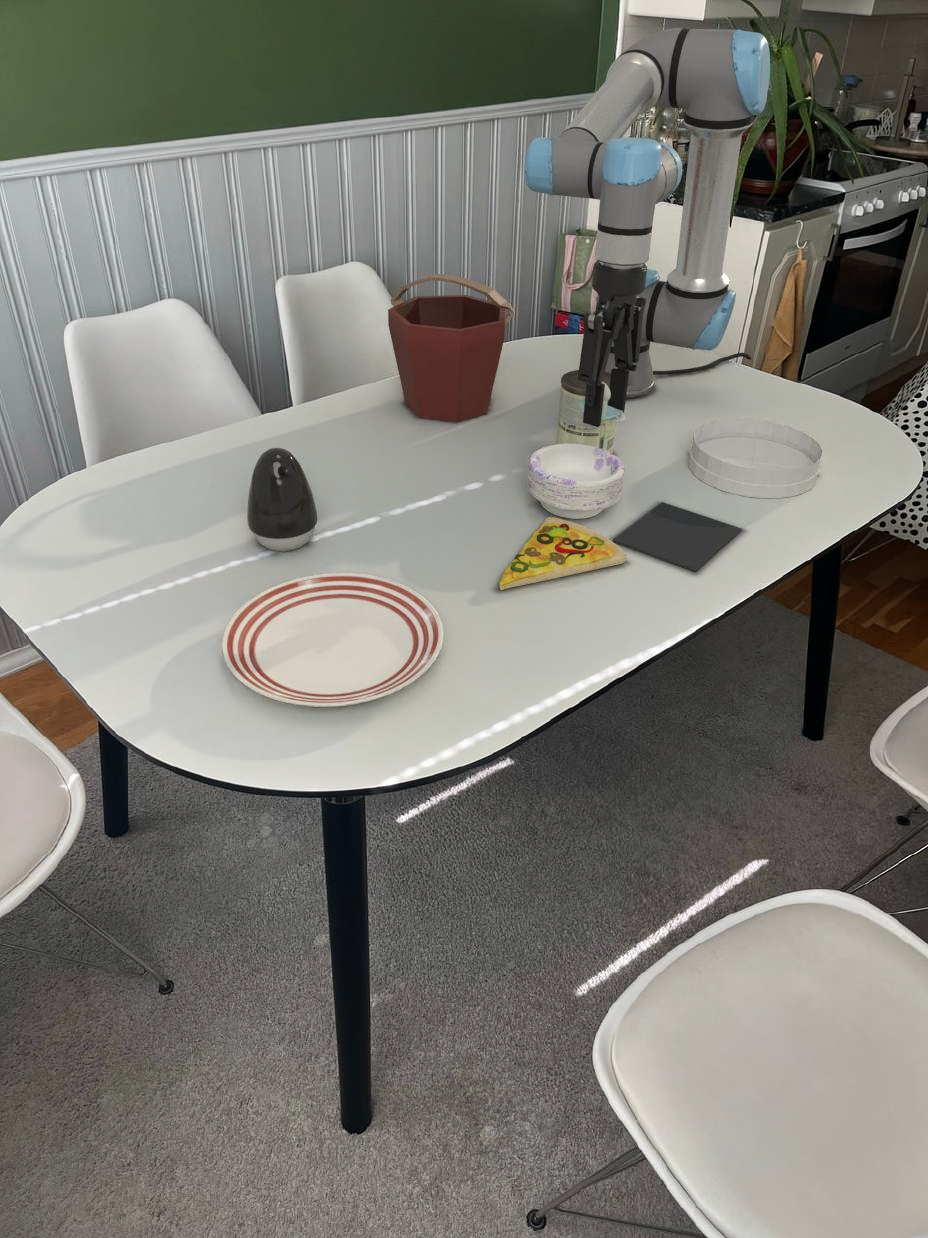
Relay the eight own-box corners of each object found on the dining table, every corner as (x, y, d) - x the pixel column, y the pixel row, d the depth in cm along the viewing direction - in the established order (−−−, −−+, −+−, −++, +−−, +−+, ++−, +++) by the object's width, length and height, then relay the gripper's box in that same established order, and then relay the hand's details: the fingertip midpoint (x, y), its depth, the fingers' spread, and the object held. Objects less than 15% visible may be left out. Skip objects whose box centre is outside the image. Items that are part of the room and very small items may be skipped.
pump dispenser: (263, 566, 136) (251, 470, 128) (242, 534, 144) (230, 442, 135) (329, 551, 140) (322, 457, 132) (305, 520, 148) (298, 430, 139)
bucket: (530, 407, 188) (538, 278, 174) (457, 440, 174) (460, 303, 160) (438, 376, 201) (439, 254, 187) (364, 405, 187) (359, 275, 173)
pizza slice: (632, 559, 140) (635, 542, 138) (539, 613, 128) (541, 594, 126) (553, 522, 149) (555, 505, 147) (460, 569, 137) (460, 551, 135)
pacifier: (598, 408, 150) (572, 416, 146) (603, 369, 146) (577, 376, 143) (634, 422, 145) (608, 430, 142) (640, 382, 142) (614, 390, 138)
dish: (682, 487, 160) (687, 460, 157) (692, 437, 177) (696, 411, 175) (819, 506, 155) (826, 478, 152) (815, 452, 173) (821, 426, 170)
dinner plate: (450, 717, 110) (450, 695, 108) (210, 727, 107) (206, 704, 106) (437, 590, 132) (437, 569, 130) (238, 595, 130) (235, 575, 128)
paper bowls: (637, 506, 154) (644, 461, 150) (581, 538, 145) (586, 492, 140) (564, 476, 162) (568, 433, 158) (506, 505, 153) (509, 460, 149)
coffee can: (555, 441, 175) (561, 367, 167) (611, 444, 174) (620, 370, 166) (554, 465, 166) (560, 388, 158) (613, 468, 165) (622, 391, 157)
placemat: (661, 504, 155) (662, 502, 155) (741, 530, 148) (742, 528, 148) (612, 541, 144) (612, 539, 144) (695, 572, 137) (696, 570, 137)
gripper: (632, 245, 141) (615, 394, 154) (560, 270, 128) (548, 429, 141) (677, 254, 137) (656, 405, 150) (607, 280, 124) (590, 443, 137)
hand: (603, 417), depth 146 cm, fingers closed on pacifier, 6 cm apart
